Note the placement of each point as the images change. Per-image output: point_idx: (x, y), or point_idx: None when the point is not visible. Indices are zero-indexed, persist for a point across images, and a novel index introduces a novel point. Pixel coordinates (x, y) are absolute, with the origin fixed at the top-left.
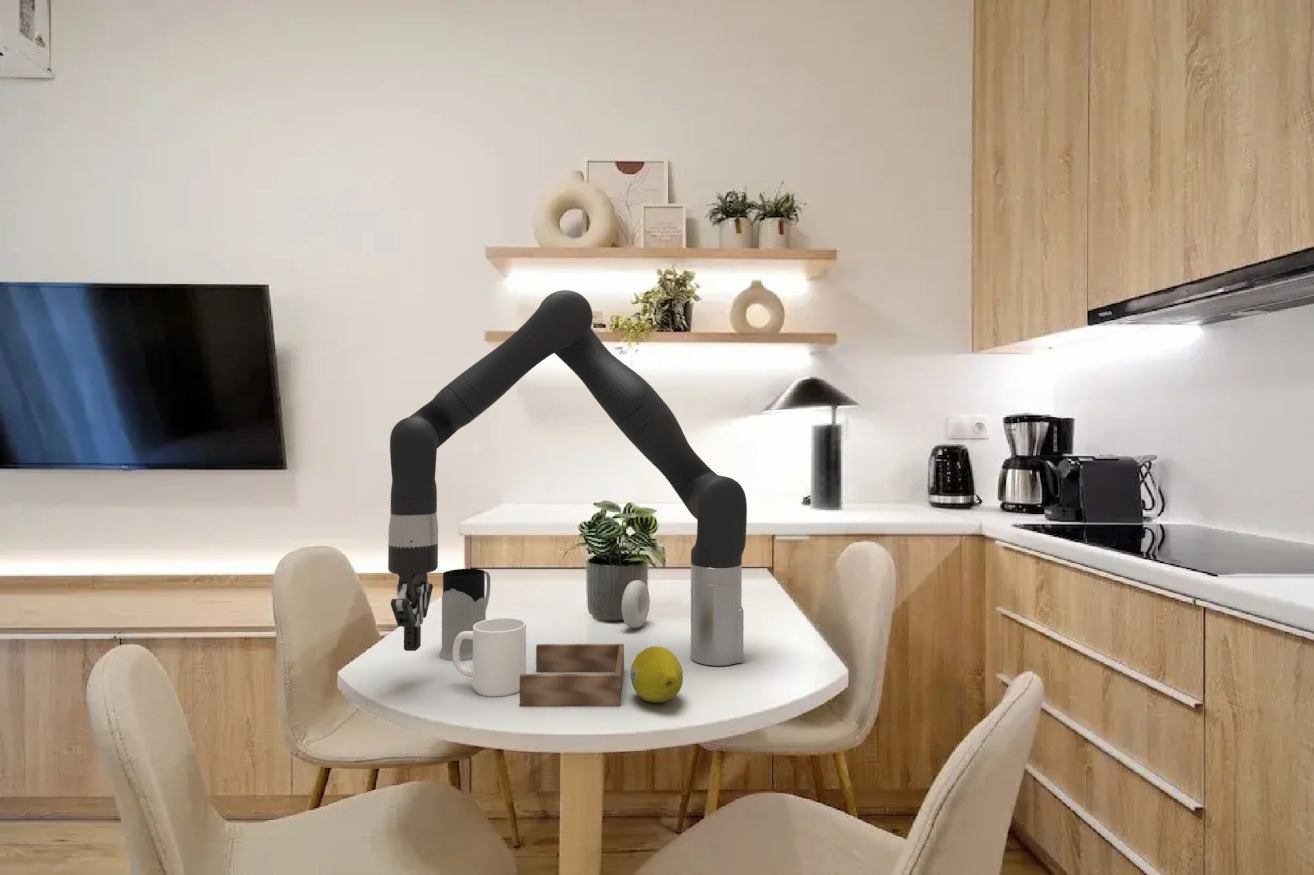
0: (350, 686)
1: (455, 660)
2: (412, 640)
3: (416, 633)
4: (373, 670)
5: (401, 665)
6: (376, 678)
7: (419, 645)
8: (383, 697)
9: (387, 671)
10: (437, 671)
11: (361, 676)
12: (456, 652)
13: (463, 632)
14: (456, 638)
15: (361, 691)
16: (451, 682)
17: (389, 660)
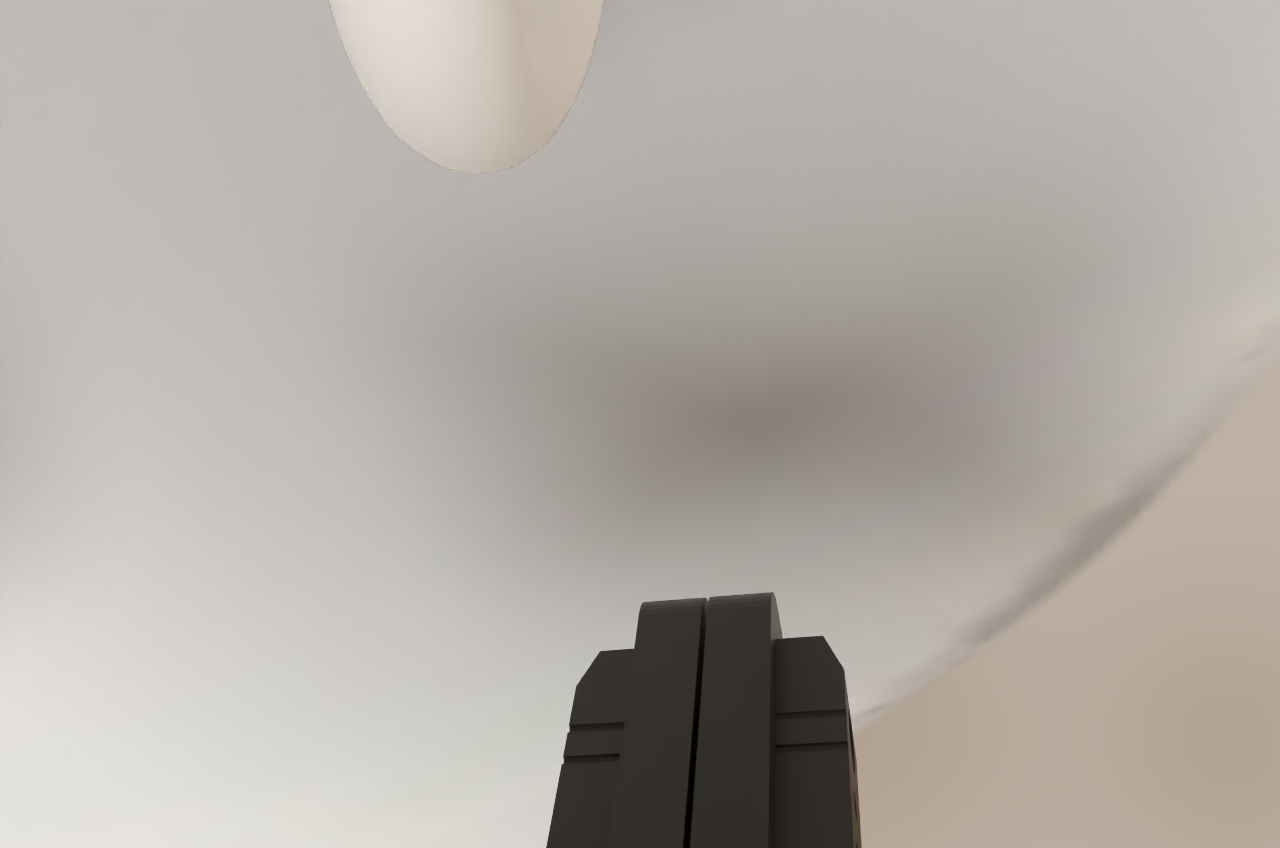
0: None
1: (595, 7)
2: (845, 740)
3: (769, 794)
4: (421, 780)
5: (242, 659)
6: None
7: (692, 616)
8: (1015, 487)
9: (408, 694)
10: (252, 324)
11: None
12: (564, 38)
13: (463, 21)
14: (531, 134)
15: (880, 685)
16: None
17: (180, 769)
